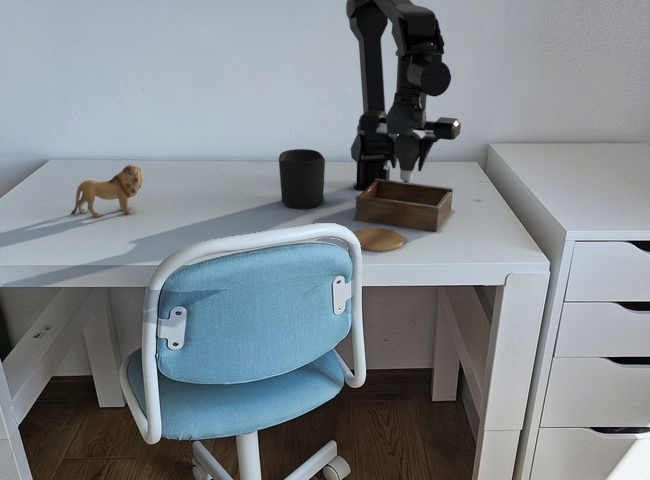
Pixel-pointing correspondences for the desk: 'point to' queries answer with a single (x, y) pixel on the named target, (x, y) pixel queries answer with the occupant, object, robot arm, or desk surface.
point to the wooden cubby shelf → (404, 204)
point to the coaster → (379, 239)
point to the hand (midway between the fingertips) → (406, 169)
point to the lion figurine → (110, 190)
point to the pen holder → (302, 178)
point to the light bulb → (407, 154)
